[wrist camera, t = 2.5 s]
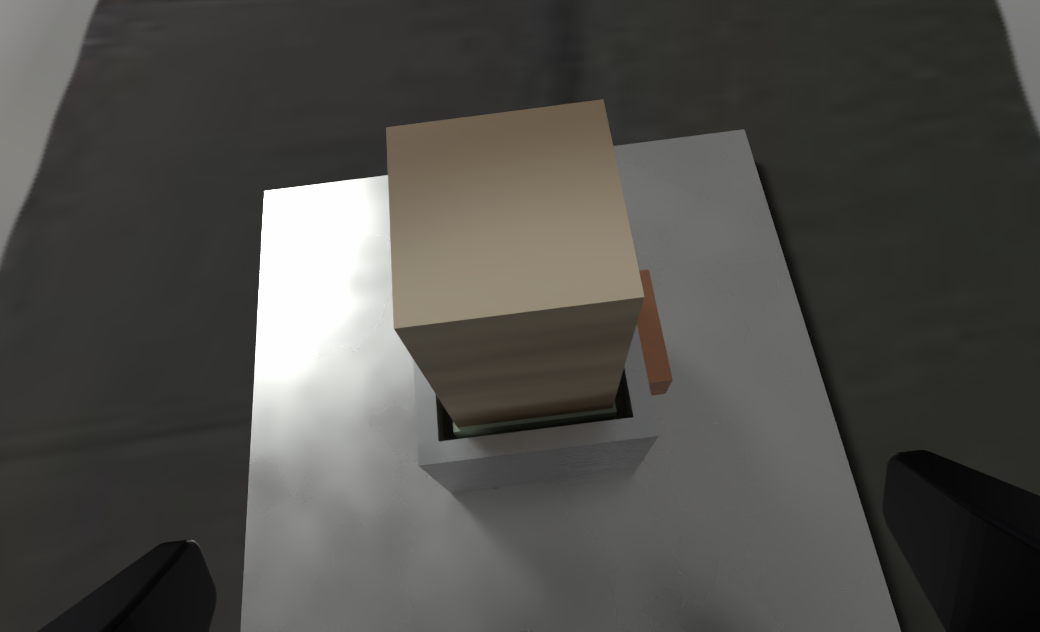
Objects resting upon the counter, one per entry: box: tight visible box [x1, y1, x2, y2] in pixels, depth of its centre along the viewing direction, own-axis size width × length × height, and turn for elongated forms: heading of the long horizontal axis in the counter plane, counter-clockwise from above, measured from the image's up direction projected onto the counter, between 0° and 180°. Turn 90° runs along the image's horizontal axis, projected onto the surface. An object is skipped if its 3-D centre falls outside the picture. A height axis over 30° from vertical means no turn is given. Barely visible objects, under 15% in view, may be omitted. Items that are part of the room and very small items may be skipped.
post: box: [386, 100, 644, 439], centre depth 15 cm, size 4×4×10 cm
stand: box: [241, 130, 901, 632], centre depth 19 cm, size 18×18×6 cm
